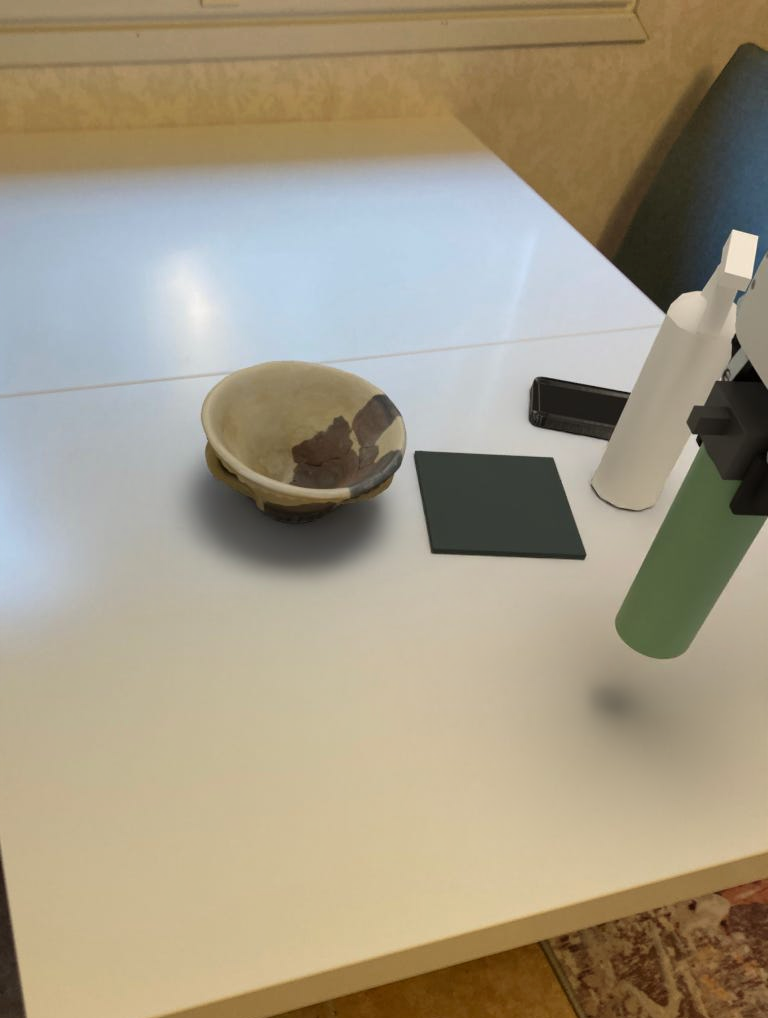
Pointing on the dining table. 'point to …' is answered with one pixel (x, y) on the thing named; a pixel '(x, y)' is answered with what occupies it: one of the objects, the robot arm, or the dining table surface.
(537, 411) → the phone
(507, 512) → the mat
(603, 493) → the white cylindrical bottle
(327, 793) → the dining table surface
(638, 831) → the dining table surface
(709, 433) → the mister
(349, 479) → the bowl
